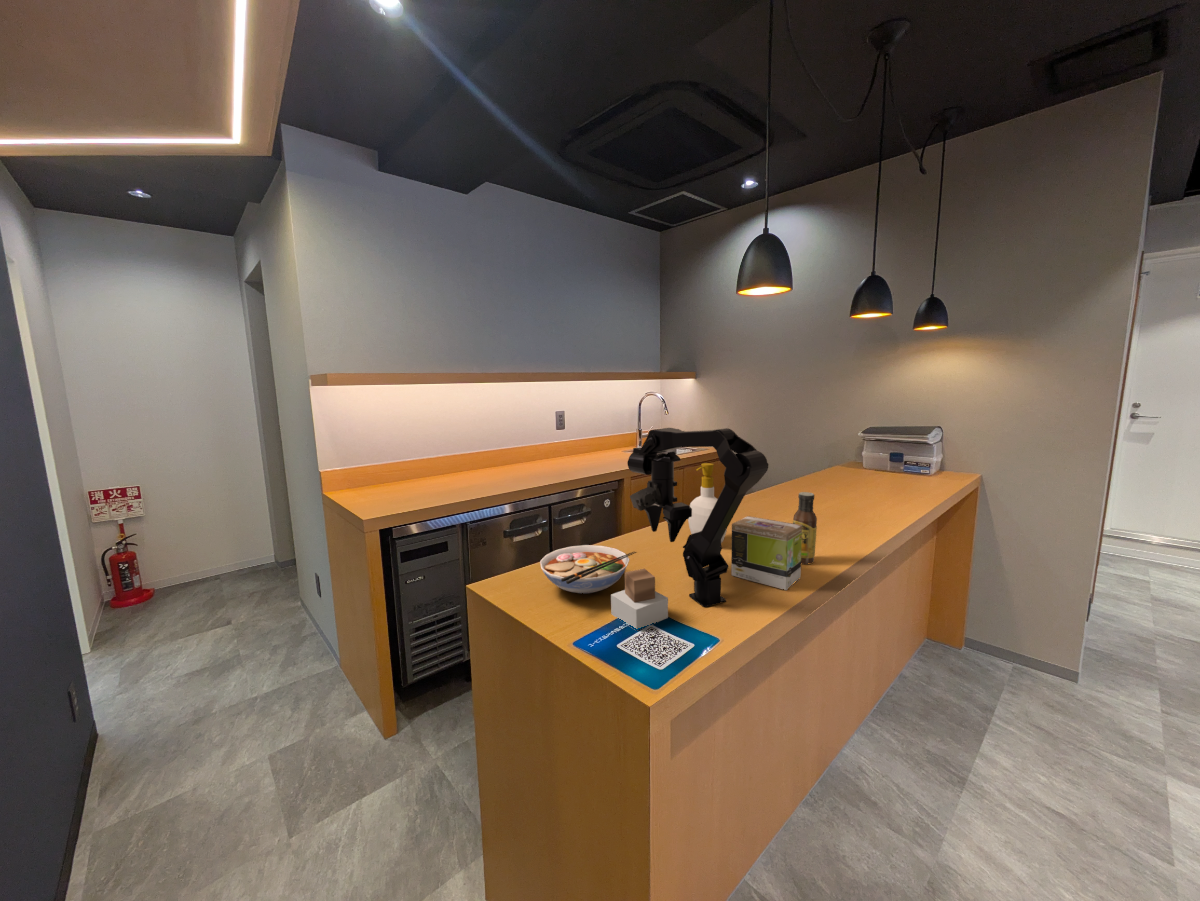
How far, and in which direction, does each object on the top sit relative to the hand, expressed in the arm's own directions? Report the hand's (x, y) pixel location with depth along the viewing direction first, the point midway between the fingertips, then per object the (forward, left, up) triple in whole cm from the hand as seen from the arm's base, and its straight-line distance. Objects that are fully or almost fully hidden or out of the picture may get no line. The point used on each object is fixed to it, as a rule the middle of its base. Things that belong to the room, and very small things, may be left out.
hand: (663, 536), depth 122 cm
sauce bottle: (-6, -42, -12) cm, 44 cm away
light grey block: (-14, +14, -12) cm, 24 cm away
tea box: (-10, -25, -12) cm, 30 cm away
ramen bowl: (+5, +20, -12) cm, 24 cm away
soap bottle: (+18, -26, -12) cm, 34 cm away
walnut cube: (-14, +14, -7) cm, 21 cm away
